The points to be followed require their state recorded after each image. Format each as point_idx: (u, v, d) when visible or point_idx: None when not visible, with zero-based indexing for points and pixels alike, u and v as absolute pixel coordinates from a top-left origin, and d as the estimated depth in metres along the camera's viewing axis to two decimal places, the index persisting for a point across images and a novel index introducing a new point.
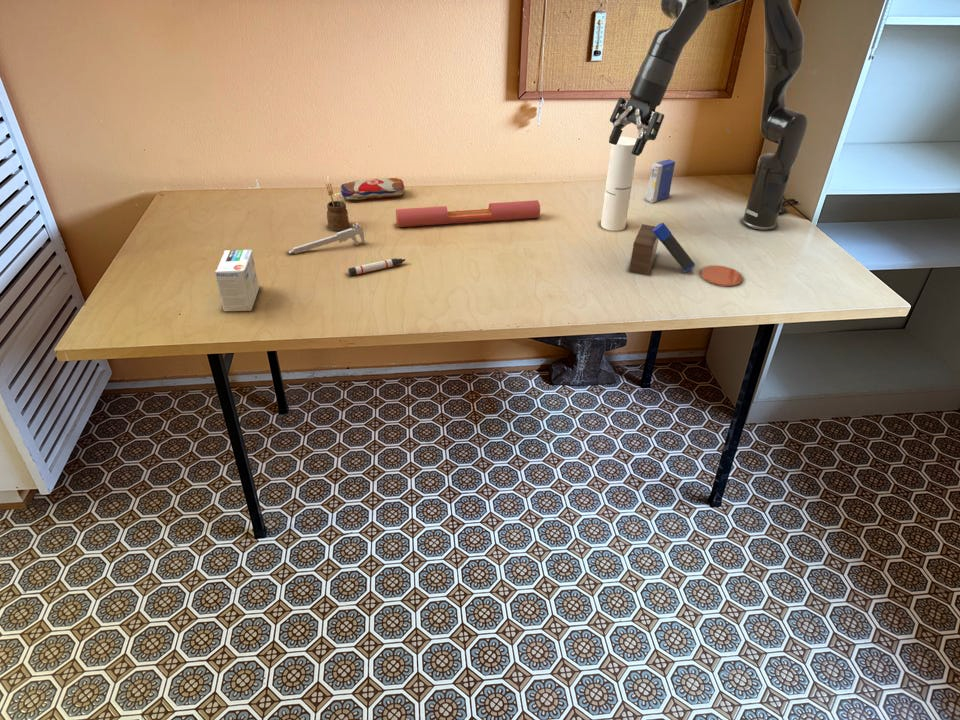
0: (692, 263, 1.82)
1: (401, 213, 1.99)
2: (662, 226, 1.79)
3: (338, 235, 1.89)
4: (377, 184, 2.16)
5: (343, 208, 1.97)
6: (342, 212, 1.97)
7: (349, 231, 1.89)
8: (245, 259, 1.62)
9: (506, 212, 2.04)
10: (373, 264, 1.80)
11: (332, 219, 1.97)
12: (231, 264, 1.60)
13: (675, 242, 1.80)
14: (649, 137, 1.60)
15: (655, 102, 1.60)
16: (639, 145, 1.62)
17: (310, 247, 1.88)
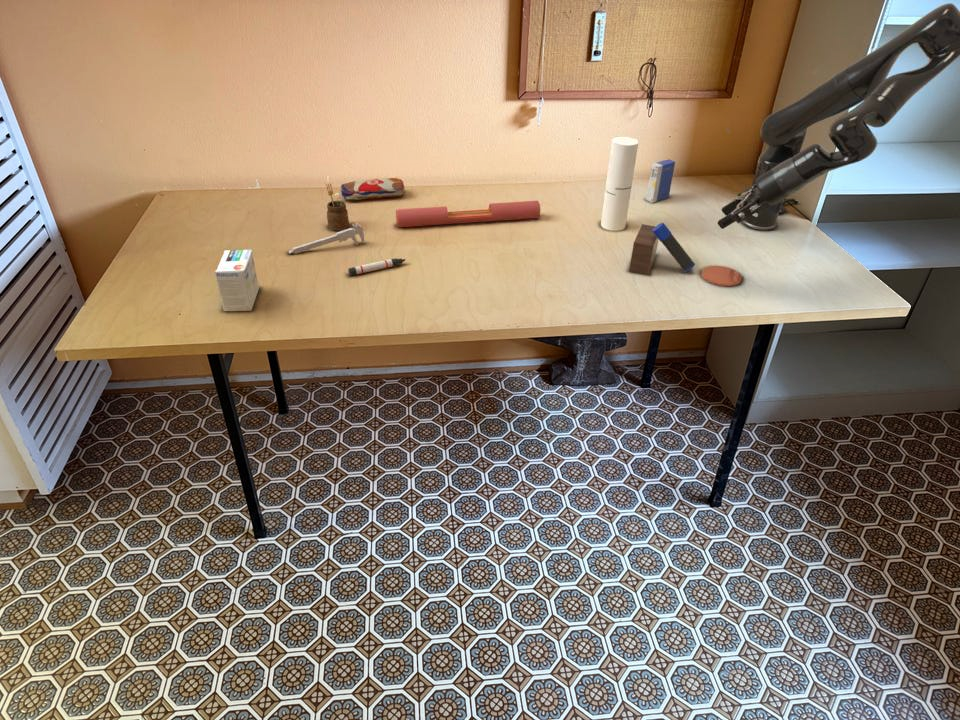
0: (692, 263, 1.82)
1: (401, 213, 1.99)
2: (662, 226, 1.79)
3: (338, 235, 1.89)
4: (377, 184, 2.16)
5: (343, 208, 1.97)
6: (342, 212, 1.97)
7: (349, 231, 1.90)
8: (245, 259, 1.62)
9: (506, 212, 2.04)
10: (373, 264, 1.80)
11: (332, 219, 1.97)
12: (231, 264, 1.60)
13: (675, 242, 1.80)
14: (734, 216, 1.65)
15: (765, 196, 1.63)
16: (726, 219, 1.68)
17: (310, 247, 1.88)
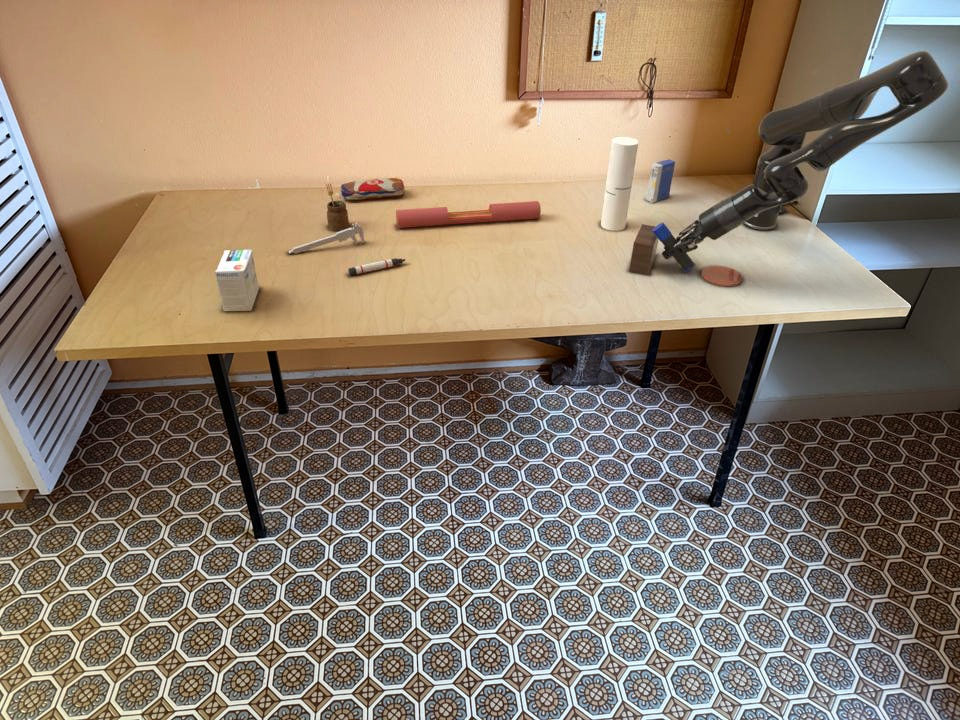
0: (692, 263, 1.82)
1: (401, 214, 1.99)
2: (662, 226, 1.79)
3: (338, 235, 1.89)
4: (377, 184, 2.16)
5: (343, 208, 1.97)
6: (342, 212, 1.97)
7: (349, 230, 1.90)
8: (245, 259, 1.62)
9: (506, 213, 2.04)
10: (373, 264, 1.80)
11: (332, 219, 1.97)
12: (231, 264, 1.60)
13: (675, 242, 1.80)
14: (676, 249, 1.77)
15: (706, 232, 1.73)
16: (669, 251, 1.80)
17: (310, 247, 1.88)
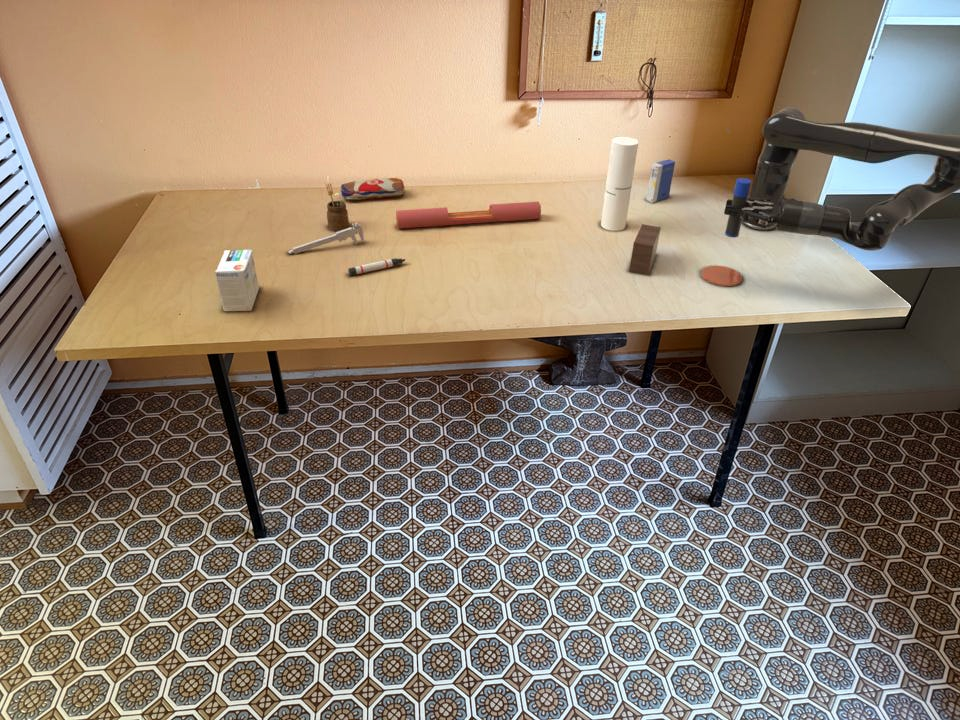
0: (738, 233, 1.74)
1: (401, 214, 1.98)
2: (749, 184, 1.66)
3: (338, 234, 1.89)
4: (377, 184, 2.16)
5: (343, 208, 1.97)
6: (342, 212, 1.97)
7: (348, 230, 1.90)
8: (245, 259, 1.62)
9: (507, 213, 2.04)
10: (373, 264, 1.80)
11: (332, 219, 1.97)
12: (231, 264, 1.60)
13: (744, 205, 1.69)
14: (745, 214, 1.67)
15: (781, 220, 1.65)
16: (735, 209, 1.69)
17: (310, 247, 1.88)
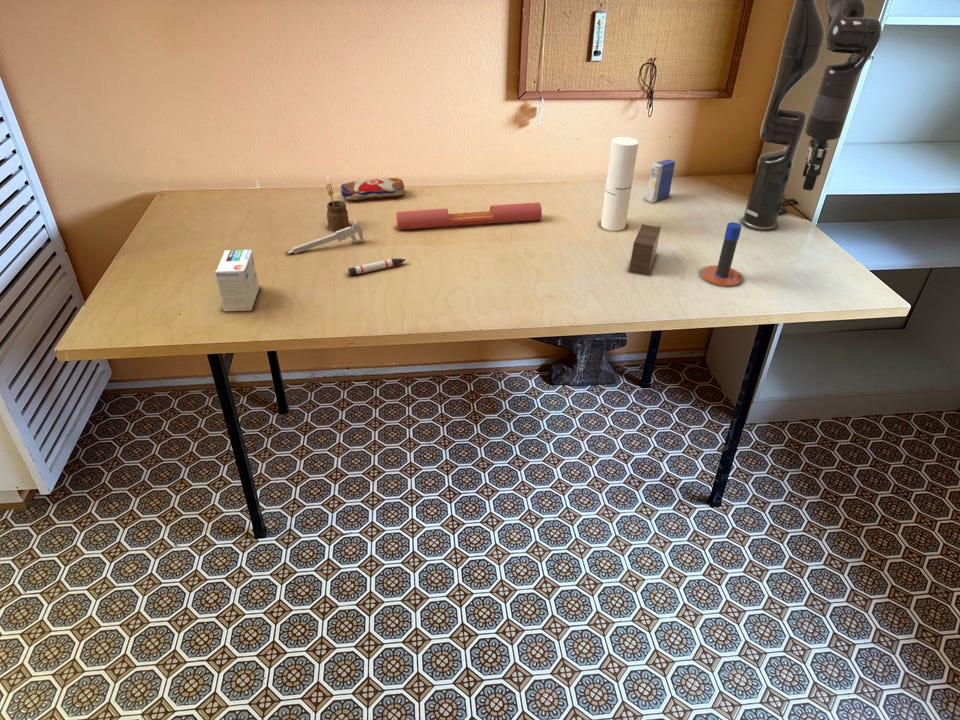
0: (728, 274, 1.80)
1: (402, 216, 1.98)
2: (739, 229, 1.73)
3: (337, 234, 1.90)
4: (377, 184, 2.16)
5: (343, 208, 1.97)
6: (342, 212, 1.97)
7: (348, 229, 1.90)
8: (245, 259, 1.62)
9: (507, 214, 2.03)
10: (373, 264, 1.80)
11: (332, 219, 1.97)
12: (231, 264, 1.60)
13: (734, 248, 1.76)
14: (810, 173, 1.60)
15: (822, 137, 1.58)
16: (807, 180, 1.63)
17: (309, 246, 1.89)
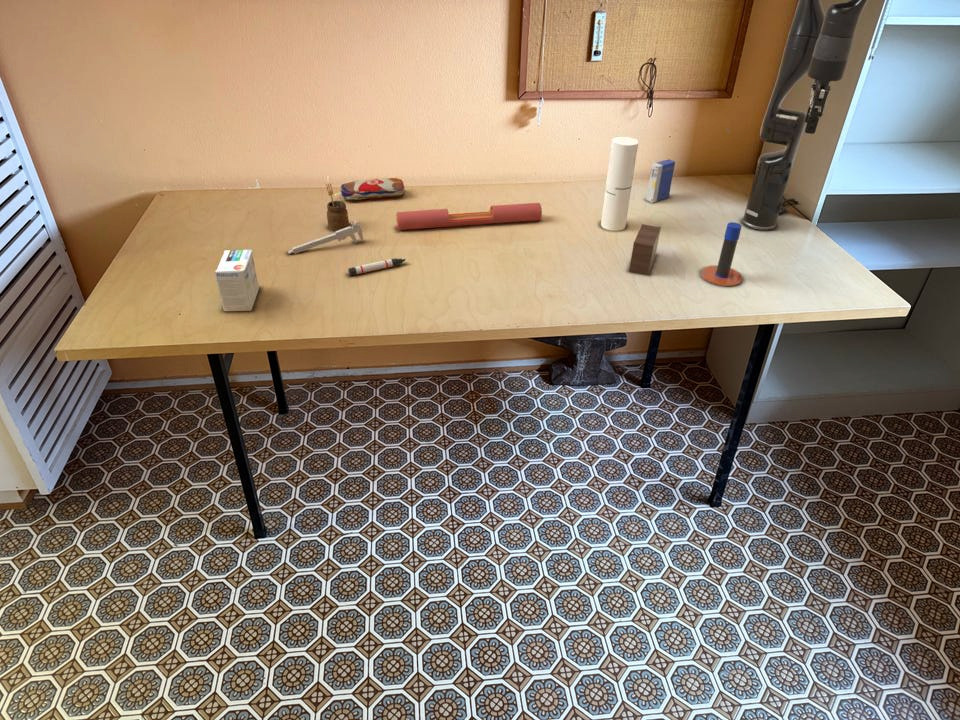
0: (728, 274, 1.80)
1: (402, 216, 1.98)
2: (739, 229, 1.73)
3: (337, 234, 1.90)
4: (377, 184, 2.16)
5: (343, 208, 1.97)
6: (342, 212, 1.97)
7: (348, 229, 1.90)
8: (245, 259, 1.62)
9: (507, 215, 2.03)
10: (373, 264, 1.80)
11: (332, 219, 1.97)
12: (231, 264, 1.60)
13: (734, 248, 1.76)
14: (812, 115, 1.60)
15: (825, 78, 1.58)
16: (809, 123, 1.63)
17: (309, 246, 1.89)
